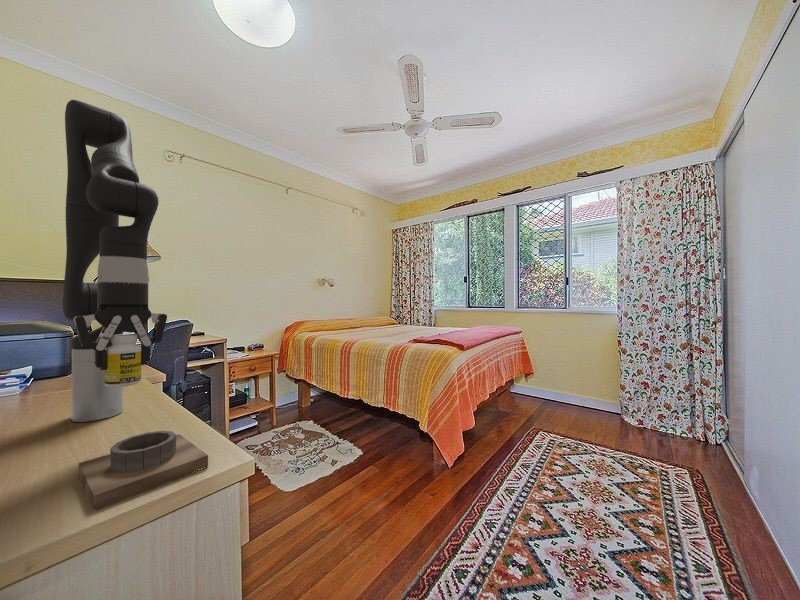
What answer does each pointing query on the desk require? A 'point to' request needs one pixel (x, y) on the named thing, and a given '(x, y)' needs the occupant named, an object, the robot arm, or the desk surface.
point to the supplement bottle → (123, 361)
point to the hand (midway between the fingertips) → (123, 366)
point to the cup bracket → (139, 466)
